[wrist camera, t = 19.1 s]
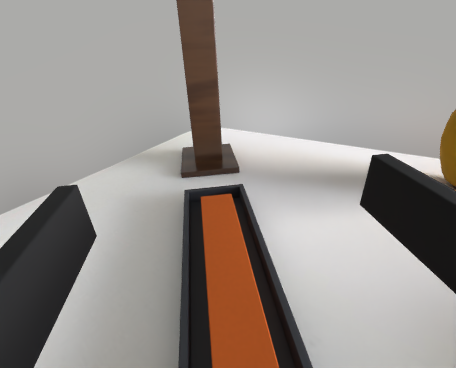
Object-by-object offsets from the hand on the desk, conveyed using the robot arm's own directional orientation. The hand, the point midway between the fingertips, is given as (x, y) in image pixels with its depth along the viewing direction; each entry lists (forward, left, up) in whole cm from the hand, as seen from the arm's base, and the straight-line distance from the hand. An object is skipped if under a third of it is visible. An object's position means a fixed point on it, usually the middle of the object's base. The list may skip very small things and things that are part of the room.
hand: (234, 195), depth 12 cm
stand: (-25, +25, -14) cm, 38 cm away
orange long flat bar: (-4, +4, -13) cm, 15 cm away
